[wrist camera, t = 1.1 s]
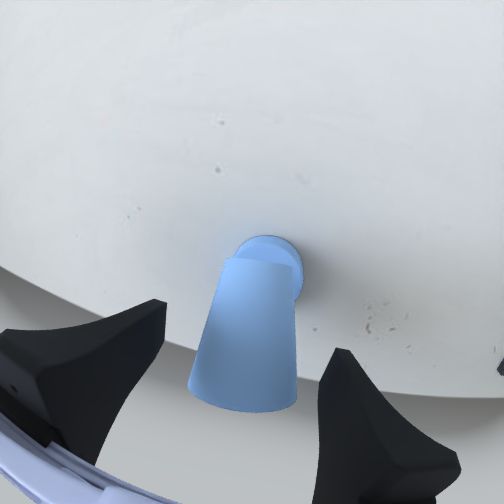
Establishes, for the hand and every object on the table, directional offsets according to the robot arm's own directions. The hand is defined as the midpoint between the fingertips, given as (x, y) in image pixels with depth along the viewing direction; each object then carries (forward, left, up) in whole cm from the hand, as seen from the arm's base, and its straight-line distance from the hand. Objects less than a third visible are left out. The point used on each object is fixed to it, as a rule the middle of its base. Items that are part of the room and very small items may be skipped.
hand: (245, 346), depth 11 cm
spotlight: (0, 0, -8) cm, 8 cm away
